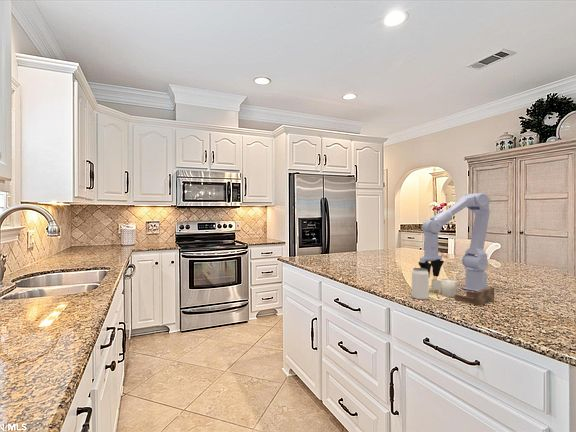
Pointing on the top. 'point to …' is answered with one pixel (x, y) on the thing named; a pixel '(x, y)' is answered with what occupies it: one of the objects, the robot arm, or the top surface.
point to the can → (420, 283)
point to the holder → (477, 296)
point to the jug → (446, 286)
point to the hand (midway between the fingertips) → (431, 277)
